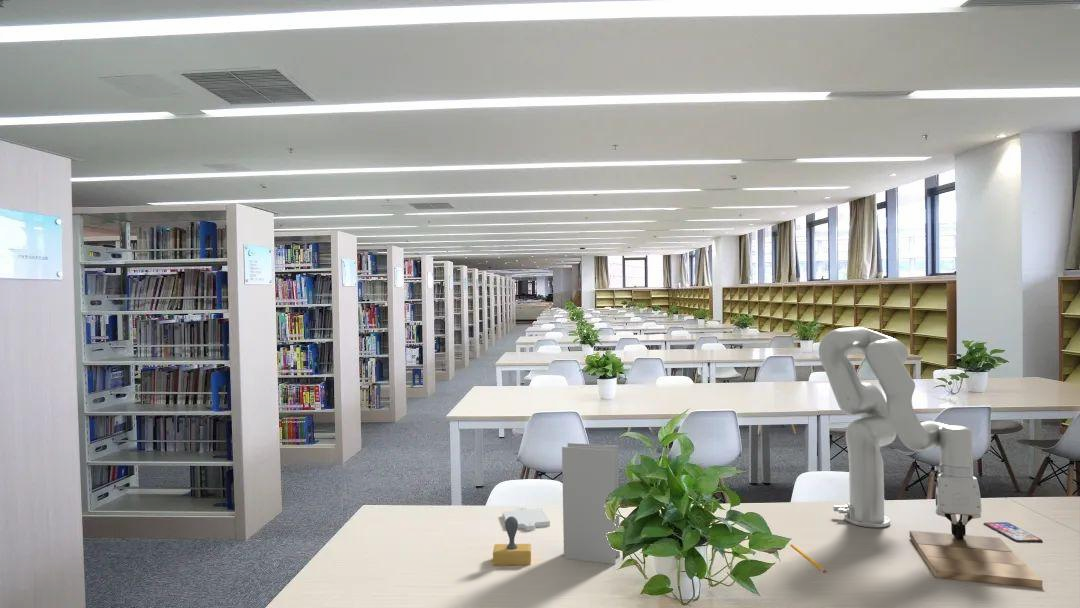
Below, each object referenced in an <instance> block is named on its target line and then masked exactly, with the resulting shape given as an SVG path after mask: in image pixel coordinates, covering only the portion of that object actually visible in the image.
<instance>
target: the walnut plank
mask: <svg viewBox="0 0 1080 608" xmlns="http://www.w3.org/2000/svg"><path fill="white" fill-rule="evenodd" d="M909 538H910V540H911V541H912V544H913V545H914V547H915V548H916V550H917V551H918V544H923V545H935V546H946V547H958V548H969V549H981V550H992V551H1004V552H1013V551H1012V549H1011V548H1010V547H1009V546H1008V545H1007V544H1006V543H1005V542H1004V540H1002V538H1001V537H995V536H994V537H992V536H983V535H982V536H981V535H980V536H979V535H969V534H966V535H965V536H964V540H962V539H956V538H955V536H954V535H953V534H952V533H945V532H944V533H942V532H931V531H920V530H909Z"/></svg>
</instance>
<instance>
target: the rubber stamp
mask: <svg viewBox="0 0 1080 608" xmlns="http://www.w3.org/2000/svg"><path fill="white" fill-rule="evenodd" d="M504 522H505V521H504ZM504 525H505V526H504V527H505V530H506V533H507V536H508V539H509V543H495V544H494V545H493V551H492V566H530V565H532V544H531V543H515V538H516V534H517V531H518V530H519V529H518V521H517V519H516V518H515V517H512V516H511V517H508V518H507V520H506V522H505V523H504Z"/></svg>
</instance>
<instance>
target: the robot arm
mask: <svg viewBox="0 0 1080 608" xmlns="http://www.w3.org/2000/svg"><path fill="white" fill-rule="evenodd" d="M856 354H857V355H858V354H860V355H862V356H864V358H865V360H866V362H867V364H868V366H869V367H870V369H871V371H872V373H873V375H874V376H875V378H876V381H878V383H879V385H880V387H881V389H882V391H883V393H884V394H885V397H884V394H883V393H882V391H881V390H880V389H879V388H878V386H876V385H874V384H872V383H870V382H862V381H861V379H860V378H859V375H858V372H857V370H856V367H854V365H853V363H852V362H851V361H850V360H849V358H848V355H856ZM908 355H909V353H908V348H907V346H906V345H905V344H904V343H903V342H902V341H900V340H899V339H896V338H895V337H894V338H893V337H892V336H888V335H886V334H883V333H880V332H878V331H874V330H871V329H869V328H865V327H862V326H861V327H859V326H857V327H856V326H853V327H840V328H835V329H832V330H830V331H828V332H826V334H825V335H824V336H823V337H822V339H821V340H820V343H819V345H818V357H819V360H820V363H821V365H822V367H823V369H824V371H825V373H826V376H827V378H828V382H829V385H830V388H831V390H832V392H833V395H834V398H835V400H836V404H837V405H838V408H839V409H840V411H841V412H842V413H844V414H846V415H849V416H857V415H859V416H860V418H858V419H857V418H856V420H853V421H852V422H850V423H849V424H848V425H847V427H846V428H845V429H846V430H845V441H846V442H845V443H846V447H847V452H848V453H847V454H848V471H849V476H848V477H849V479H848V480H849V483H848V484H849V502H847V504H844V505H838V504H837V505H836V504H833V512H838V514H844V515H843V516H844V519H845V521H847V522H848V523H850V524H853V525H856V526H860V527H865V528H878V529H879V528H885V527H888V526H890V525H891V519H890V518H889V517H888V516H887V515H885V482H884V481H885V476H884V460H883V456H882V453H881V450H880V449H881V447H884V446H888V445H890V444H892V443H893V442H894V441H895V439H897V438H896V437H897V436H898V438H899V440H900V441H901V442H902V444H903V445H904V446H905V447H906V448H907V449H909V450H910V451H914V452H922V451H923V452H924V451H928V450H931V449H936V448H939V453H940V455H939V456H940V458H939V459H940V460H939V461H940V463H939V465H934V471H935V472H939V474H938V475H937V480H936V484H935V485H936V486H935V487H936V488H935V506H936V507H935V514H936V515H937V516H939V517H943V518H946V519H947V520H948V521H949V522H950V524H951V526H950V527H951V531H950V532H951V534H953V535H954V536H955V538H956V539H962V540H964V536H965V535H967V534H966V530H967V529H966V526H967V524H968V523H970V521H971V520H972V519H973V520H974V519H981V518H982V498H981V492H980V486H979V482H978V478H977V477H976V476H974V466H973V465H974V463H973V462H974V461H973V435H972V434H973V432H972V430H971V429H970V428H969V427H967V426H963V425H956V424H955V425H954V424H953V425H952V424H950V425H949V424H946V423H941V422H938V421H933V420H925V421H922V422H921V421H920V420H919V418H918V416H917V414H916V412H915V410H914V407H913V395H914V392H915V388H916V382H915V381H914V378H913V377H912V375H911V374H910V372H909V371H908V369H907V367H906V366H905V363H906V361H907V359H908V357H909V356H908ZM957 515H959V518H958V520H957Z"/></svg>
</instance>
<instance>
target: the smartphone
mask: <svg viewBox="0 0 1080 608" xmlns="http://www.w3.org/2000/svg"><path fill="white" fill-rule="evenodd" d="M983 525H984V526H986V527H987V528H989V529H991V530H993V531H994V532H996V531H997V533H998V534H1001V536H1004V537H1006V538H1007V539H1009V540H1011V541H1013V542H1015V543H1044V542H1043V539H1041V538H1039V537H1037V536H1035V535H1033V534H1031V533H1029V532H1028V531H1026V530H1023V529H1021V528H1020V527H1018V526H1016V525H1013V524H1012V523H1011V522H1006V521H1005V522H1001V521H1000V522H999V521H998V522H983Z"/></svg>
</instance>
